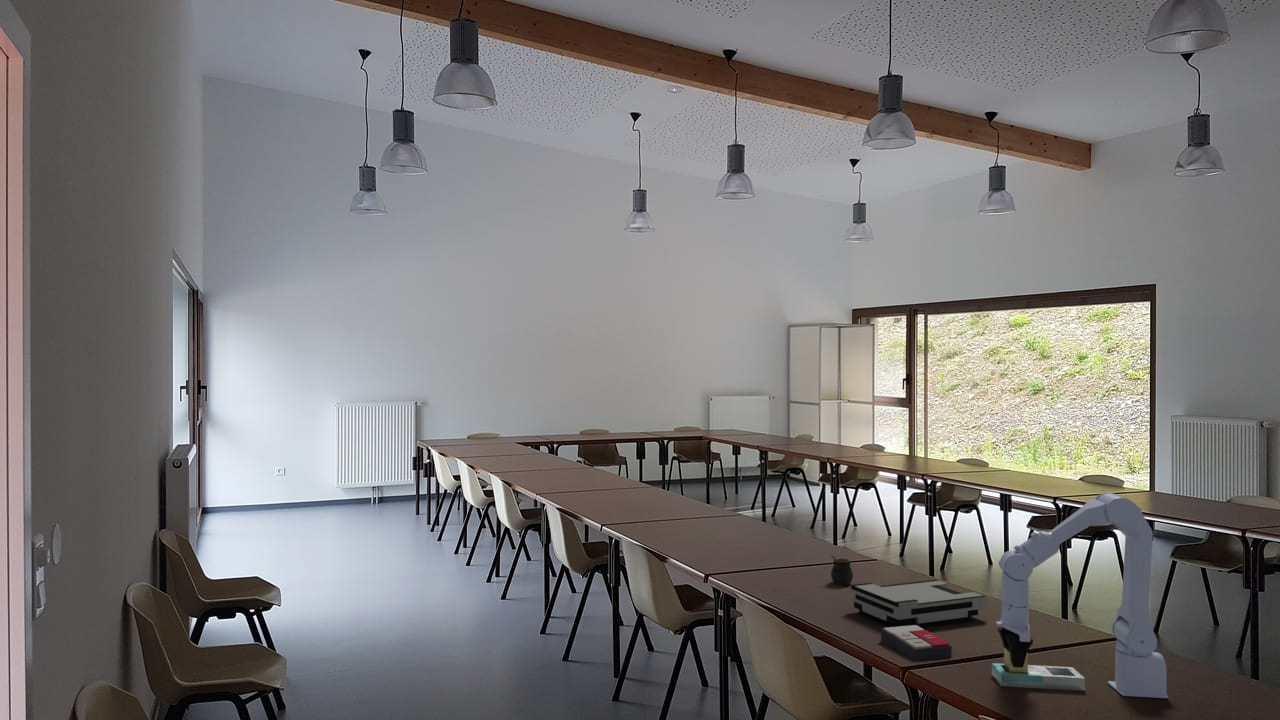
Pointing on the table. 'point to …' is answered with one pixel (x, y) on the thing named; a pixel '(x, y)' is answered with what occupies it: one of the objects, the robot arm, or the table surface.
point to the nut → (1008, 663)
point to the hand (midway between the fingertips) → (1014, 663)
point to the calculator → (916, 642)
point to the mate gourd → (841, 571)
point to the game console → (917, 603)
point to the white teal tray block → (1040, 677)
